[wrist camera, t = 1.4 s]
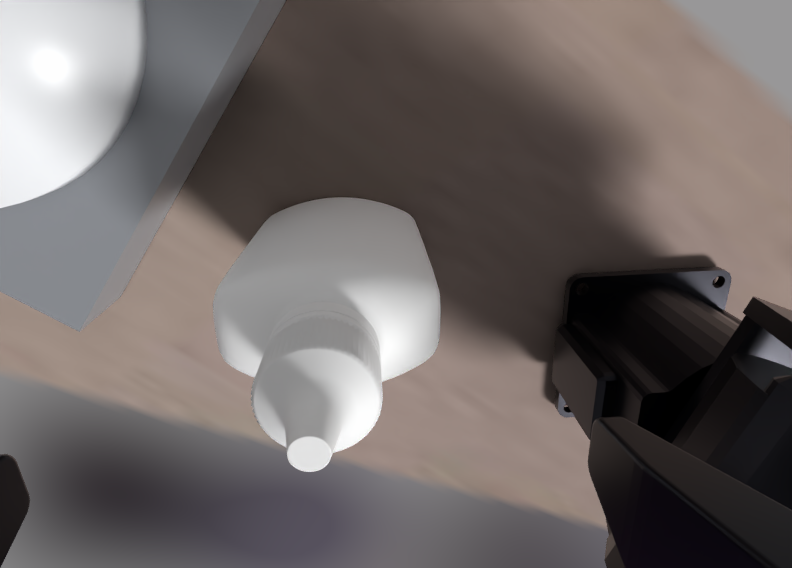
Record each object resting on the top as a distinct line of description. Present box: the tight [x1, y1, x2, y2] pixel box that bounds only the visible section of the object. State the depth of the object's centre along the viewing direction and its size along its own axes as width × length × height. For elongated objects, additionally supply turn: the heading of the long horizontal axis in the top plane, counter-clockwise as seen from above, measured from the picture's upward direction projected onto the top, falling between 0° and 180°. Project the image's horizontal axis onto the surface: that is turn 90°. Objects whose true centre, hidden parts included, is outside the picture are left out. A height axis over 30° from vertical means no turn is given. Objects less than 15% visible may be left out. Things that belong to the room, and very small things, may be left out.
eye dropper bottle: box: [213, 197, 441, 472], centre depth 14 cm, size 4×6×12 cm
